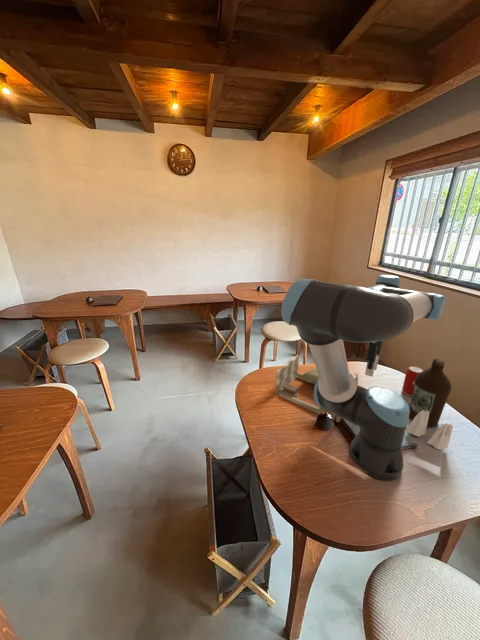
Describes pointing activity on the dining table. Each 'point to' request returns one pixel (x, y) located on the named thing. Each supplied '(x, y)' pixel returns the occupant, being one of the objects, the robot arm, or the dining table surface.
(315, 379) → the decorative tile
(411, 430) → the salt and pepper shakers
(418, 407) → the olive oil
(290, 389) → the offcut stack
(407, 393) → the beverage can
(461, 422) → the dining table surface
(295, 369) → the rack
